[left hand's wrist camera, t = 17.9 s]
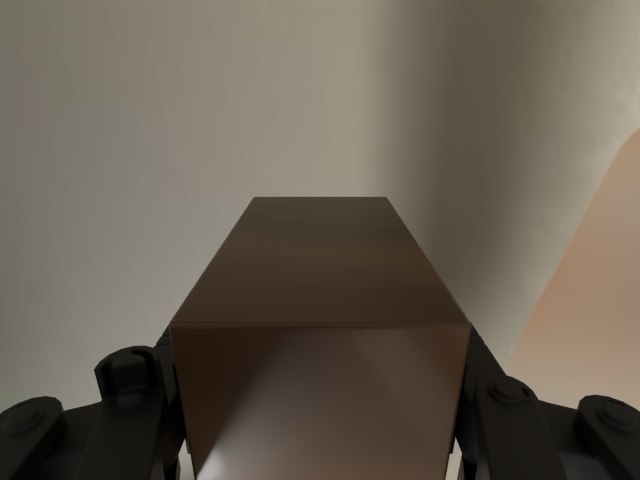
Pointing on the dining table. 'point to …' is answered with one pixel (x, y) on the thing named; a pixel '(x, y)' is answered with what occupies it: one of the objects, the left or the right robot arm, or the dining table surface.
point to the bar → (320, 348)
